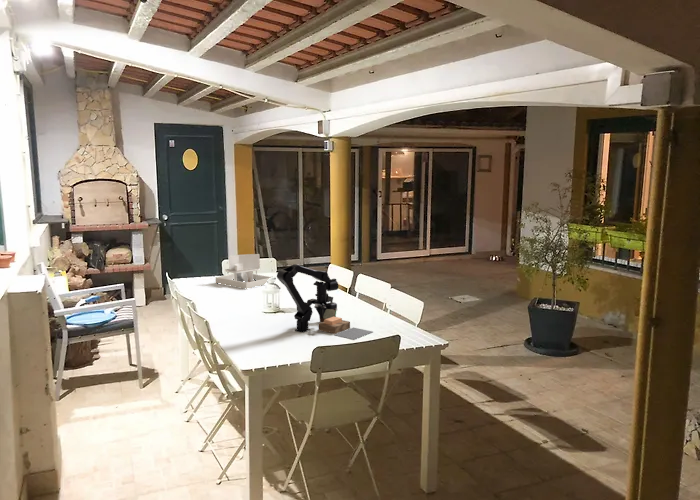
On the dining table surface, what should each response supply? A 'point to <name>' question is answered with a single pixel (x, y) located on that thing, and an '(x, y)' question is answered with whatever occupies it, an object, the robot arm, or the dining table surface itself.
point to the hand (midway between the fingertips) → (321, 318)
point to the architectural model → (244, 266)
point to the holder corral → (228, 281)
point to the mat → (353, 333)
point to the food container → (328, 314)
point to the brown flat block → (334, 327)
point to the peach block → (333, 320)
